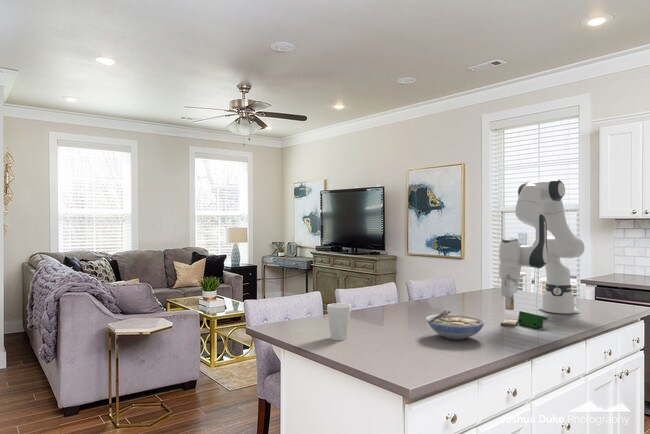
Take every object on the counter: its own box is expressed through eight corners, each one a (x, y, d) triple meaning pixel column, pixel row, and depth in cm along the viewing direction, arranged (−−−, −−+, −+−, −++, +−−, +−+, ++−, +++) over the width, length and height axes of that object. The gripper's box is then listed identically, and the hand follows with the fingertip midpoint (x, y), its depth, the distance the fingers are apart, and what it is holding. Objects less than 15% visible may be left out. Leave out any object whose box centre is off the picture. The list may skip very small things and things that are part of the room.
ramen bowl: (476, 349, 167) (476, 326, 167) (416, 340, 179) (416, 319, 179) (492, 335, 188) (492, 315, 188) (437, 328, 200) (437, 309, 200)
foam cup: (322, 337, 184) (322, 304, 185) (342, 334, 189) (342, 302, 189) (334, 342, 176) (334, 308, 176) (355, 339, 181) (355, 306, 181)
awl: (506, 308, 212) (506, 288, 212) (514, 309, 210) (514, 289, 210) (504, 309, 209) (504, 289, 209) (513, 310, 207) (513, 290, 207)
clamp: (542, 337, 203) (552, 320, 200) (531, 335, 201) (541, 317, 198) (524, 321, 214) (533, 305, 211) (514, 319, 212) (524, 302, 209)
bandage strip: (506, 320, 217) (505, 317, 217) (519, 321, 214) (519, 319, 214) (500, 325, 206) (500, 322, 206) (514, 327, 203) (514, 324, 203)
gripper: (513, 276, 199) (513, 308, 199) (520, 272, 217) (520, 302, 217) (497, 275, 203) (497, 307, 202) (506, 271, 220) (506, 301, 220)
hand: (509, 304), depth 210 cm, fingers closed on awl, 4 cm apart
